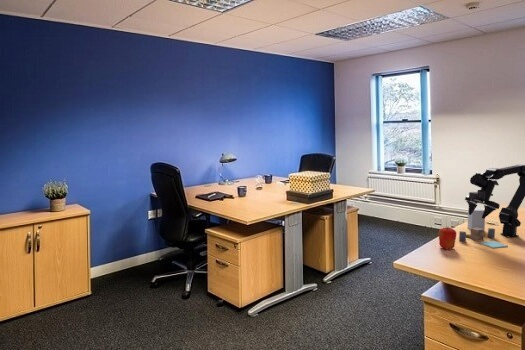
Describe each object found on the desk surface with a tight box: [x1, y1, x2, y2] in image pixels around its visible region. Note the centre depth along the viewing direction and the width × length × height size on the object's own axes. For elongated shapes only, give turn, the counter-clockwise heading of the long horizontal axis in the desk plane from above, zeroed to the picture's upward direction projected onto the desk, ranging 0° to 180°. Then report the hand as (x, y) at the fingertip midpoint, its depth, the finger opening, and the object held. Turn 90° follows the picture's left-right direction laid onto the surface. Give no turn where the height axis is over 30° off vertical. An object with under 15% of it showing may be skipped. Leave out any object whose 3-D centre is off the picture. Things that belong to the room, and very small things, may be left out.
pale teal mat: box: [478, 240, 508, 249], centre depth 198 cm, size 9×9×1 cm
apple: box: [438, 226, 457, 250], centre depth 195 cm, size 9×8×12 cm
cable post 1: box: [458, 230, 467, 243], centre depth 207 cm, size 3×3×5 cm
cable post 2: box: [487, 227, 496, 239], centre depth 211 cm, size 3×3×5 cm
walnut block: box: [469, 227, 485, 242], centre depth 209 cm, size 4×4×6 cm
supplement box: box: [467, 207, 486, 231], centre depth 227 cm, size 7×7×13 cm
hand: (476, 216), depth 207 cm, fingers open, 9 cm apart
